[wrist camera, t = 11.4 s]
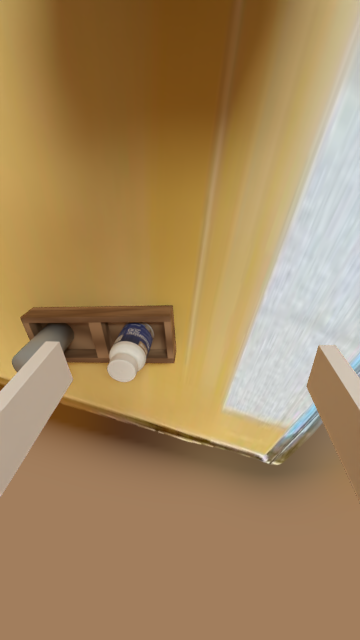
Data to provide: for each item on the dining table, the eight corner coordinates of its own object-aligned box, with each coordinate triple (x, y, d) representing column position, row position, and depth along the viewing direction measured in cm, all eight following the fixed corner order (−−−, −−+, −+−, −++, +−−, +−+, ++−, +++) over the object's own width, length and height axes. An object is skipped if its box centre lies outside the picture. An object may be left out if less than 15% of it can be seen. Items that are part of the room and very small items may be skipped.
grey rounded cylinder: (41, 320, 43) (6, 353, 35) (69, 320, 42) (39, 353, 35) (51, 344, 45) (19, 379, 38) (77, 344, 45) (51, 380, 37)
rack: (33, 307, 43) (20, 317, 40) (172, 305, 40) (170, 316, 37) (49, 349, 47) (39, 361, 44) (176, 350, 45) (174, 363, 42)
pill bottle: (160, 330, 42) (148, 370, 33) (143, 350, 44) (128, 391, 36) (133, 312, 41) (113, 348, 32) (117, 333, 43) (95, 372, 35)
